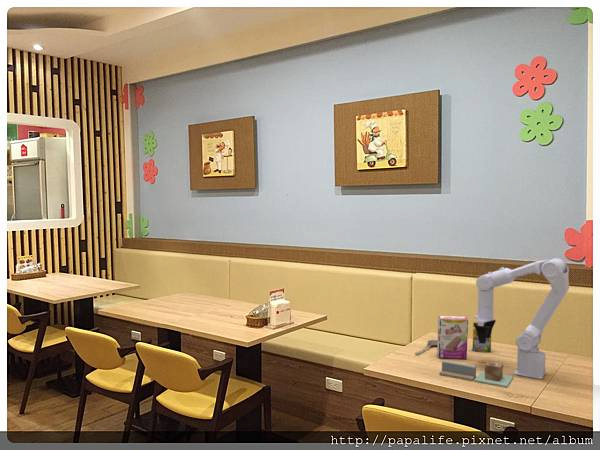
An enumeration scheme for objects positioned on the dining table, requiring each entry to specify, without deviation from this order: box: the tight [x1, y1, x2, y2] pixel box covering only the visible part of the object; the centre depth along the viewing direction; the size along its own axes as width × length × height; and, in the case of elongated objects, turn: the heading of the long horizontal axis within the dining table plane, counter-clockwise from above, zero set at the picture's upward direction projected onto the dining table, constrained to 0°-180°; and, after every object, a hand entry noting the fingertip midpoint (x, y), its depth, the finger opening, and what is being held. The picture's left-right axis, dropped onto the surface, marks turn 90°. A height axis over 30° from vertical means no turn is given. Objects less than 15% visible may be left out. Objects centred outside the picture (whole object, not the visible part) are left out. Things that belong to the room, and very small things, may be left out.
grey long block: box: [438, 360, 477, 382], centre depth 195 cm, size 12×4×4 cm, turn 58°
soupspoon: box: [414, 339, 438, 357], centre depth 228 cm, size 22×3×7 cm
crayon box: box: [472, 321, 492, 353], centre depth 225 cm, size 7×3×12 cm, turn 72°
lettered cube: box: [484, 360, 504, 381], centre depth 192 cm, size 5×5×5 cm
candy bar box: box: [436, 315, 469, 360], centre depth 216 cm, size 11×5×16 cm, turn 84°
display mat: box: [473, 370, 514, 388], centre depth 192 cm, size 11×11×1 cm
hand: (484, 340), depth 207 cm, fingers open, 7 cm apart
